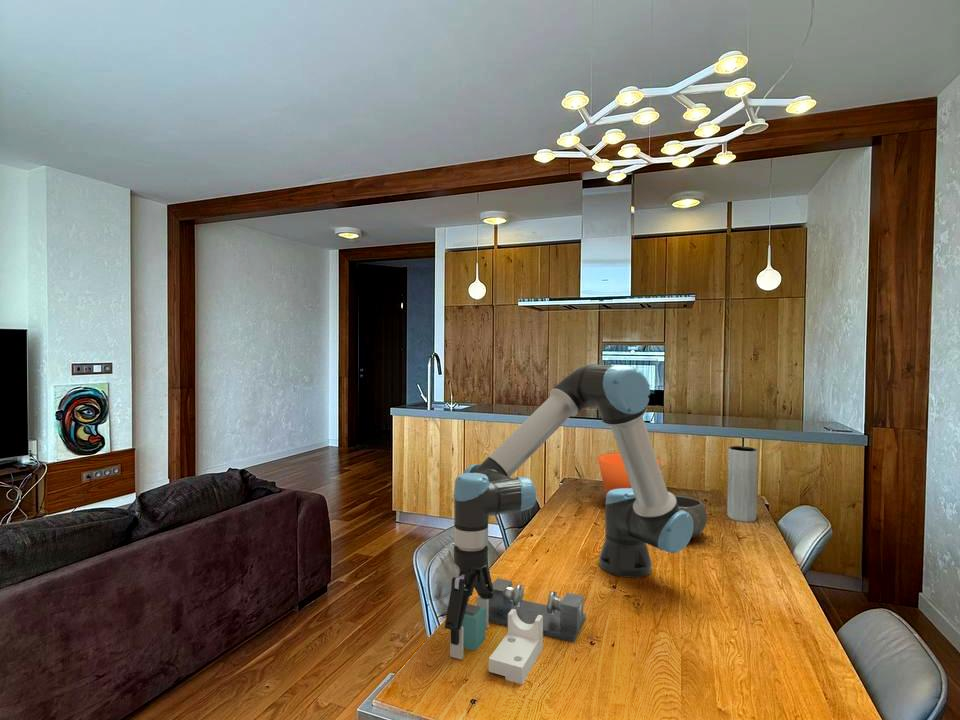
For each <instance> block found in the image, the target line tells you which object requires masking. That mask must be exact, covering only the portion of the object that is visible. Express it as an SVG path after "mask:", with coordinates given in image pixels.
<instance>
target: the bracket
mask: <svg viewBox="0 0 960 720" xmlns="http://www.w3.org/2000/svg"><path fill="white" fill-rule="evenodd" d="M543 636H544V635H543V616H542V615H538V616H537V618H536V619H535V623H533V624H526V623H524V622H522V621H521V620H520V619H519V617H518V616H517V613H516V609H512V610H511V611H510V612H509V613H508V626H507V633H506V634H505V636H504V637H503V639H502V640H500V643H499V644H498V645H497V647H496V648H495V650H494V651H493V652H492V654H491V655H490V656H489V657H488V672H490V673H493V674H497V675H500V676H503V677H505V678H504V679H505V680H506V681H508V682H513V683H516V684H519V685H523V684H524V682H525V680H526V679H527V677H528V675H529V674H530V672H531V670H532V668H533V666H534V665H535V664H536V661H537V659H538V658H539V657H540V654H541V652H542V651H543V649H544V648H543V647H544V646H543V644H544V643H543V641H544V640H543V639H544V637H543Z"/></svg>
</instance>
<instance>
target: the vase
mask: <svg viewBox="0 0 960 720" xmlns="http://www.w3.org/2000/svg"><path fill="white" fill-rule="evenodd" d="M757 489H758V449H757V448H755V447H751V446H750V447H749V446H743V445H742V446H741V445H740V446H739V445H733V446H729V447H728V452H727V501H726V502H727V503H726V505H727V507H726V509H727V510H726V514H727V518H728V519H731V520H733V521H735V522H736V521H737V522H742V523H751V522H752V523H753V522H755V521H756V520H757V502H758V501H757V500H758V499H757V498H758V497H757V496H758V495H757V494H758V490H757Z"/></svg>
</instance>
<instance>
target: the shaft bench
mask: <svg viewBox="0 0 960 720" xmlns="http://www.w3.org/2000/svg"><path fill="white" fill-rule="evenodd" d="M492 586H493V591H492V592H490V593H493V597H492V599H490V598H488V599H489V612H488V623H493V622H494V623H493V624H497V623H498V624H497V625H501V624H502V626H505V627H506V626H507V627H508V613H509V612H510V611H511V610H512V609H516V613H517V616H518V617H519V619H520V620H521V621H522V622H524V623H526V624H533V623H535V619H536V618H537V616H538V615H542V616H543V636H547V637H551V638H555V639H559V640H562V641H567V642H571V643H576V641H577V638H578V636H579V634H580V632H581V630H582V627H583V625H584V623H585V622H586V619H587V617H586V616H587V614H586V613H584V604H585V603H584V599H585V597H584V595H582V594H576V593H572V592H571V593H570V592H566V594H565V595H564V597H560V596H558V593H557V591H555V590H554V591H553V590H551V591H550V592H549V594H548V597H547V603H546V604H542V603H538V602H535V601H534V602H533V601H529V600H525V599H524V594H525V591H524V589H525V588H524V585H523V584H521V583H517V584H516V585H515V587H513V581H512V580H509V579H503V578H499V577H497V578H496V579H495V580H494V581H493V582H492Z"/></svg>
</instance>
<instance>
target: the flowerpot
mask: <svg viewBox="0 0 960 720" xmlns="http://www.w3.org/2000/svg"><path fill="white" fill-rule="evenodd" d="M656 458H657V457H656ZM597 461H598V465H599V471H600V474H601V478H602V483H603V489H604V492H605V496H606V495H607V493H608V492H609V491H610V490H614V489H621V488H632V487H631V484H630V481H629V478H628V475H627V472H626V469H625V466H624V464H623V461H622V458H621V455H620V452H608V453H603V454H599V455H598V456H597ZM657 461H658V464H659V467H660V466H661V462H662V461H661V460H660V458H657Z"/></svg>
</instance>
